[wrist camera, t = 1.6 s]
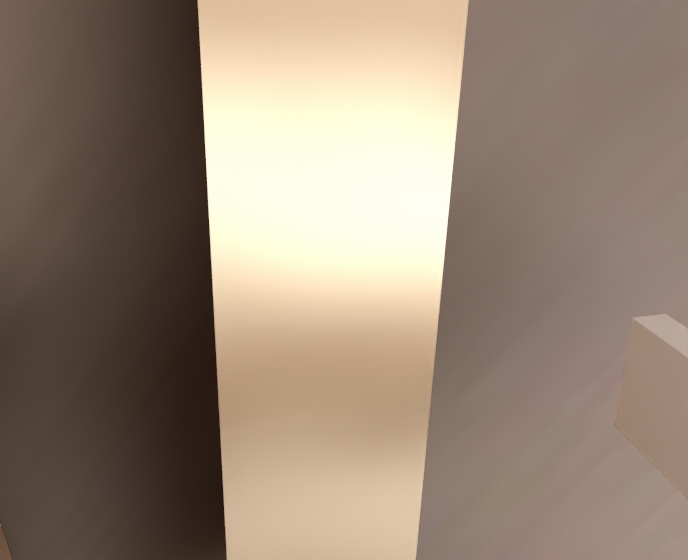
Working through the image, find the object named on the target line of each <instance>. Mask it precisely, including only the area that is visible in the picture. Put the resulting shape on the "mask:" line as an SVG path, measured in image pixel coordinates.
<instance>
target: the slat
mask: <svg viewBox="0 0 688 560" xmlns="http://www.w3.org/2000/svg"><path fill="white" fill-rule="evenodd" d="M467 11H468V0H198V16H199V35H200V54H201V73H202V92H203V111H204V131H205V150H206V169H207V188H208V207H209V226H210V245H211V264H212V283H213V303H214V322H215V341H216V360H217V379H218V398H219V417H220V436H221V455H222V475H223V494H224V513H225V532H226V551H227V560H416V550H417V539H418V529H419V518H420V507H421V497H422V486H423V476H424V465H425V455H426V444H427V434H428V423H429V412H430V402H431V391H432V381H433V370H434V360H435V349H436V338H437V328H438V317H439V307H440V296H441V286H442V275H443V264H444V254H445V243H446V233H447V222H448V212H449V201H450V190H451V180H452V169H453V159H454V148H455V138H456V127H457V117H458V106H459V95H460V85H461V74H462V64H463V53H464V43H465V32H466V21H467Z"/></svg>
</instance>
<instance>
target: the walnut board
mask: <svg viewBox="0 0 688 560" xmlns="http://www.w3.org/2000/svg"><path fill="white" fill-rule="evenodd" d="M0 524H1V523H0ZM0 560H12V557H11V554H10V551H9V548H8V545H7V542H6V539H5V535H4V532H3V529H2V526H1V525H0Z"/></svg>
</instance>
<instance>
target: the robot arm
mask: <svg viewBox="0 0 688 560" xmlns="http://www.w3.org/2000/svg"><path fill="white" fill-rule="evenodd" d="M615 426H616V427H617V428H618V429H619V430H620V431H621V432H622V433H623V434H624V435H625V436H626V437H627V438H628V439H629V440H630V441H631V443H632V444H633V445H634V446H635V447H636V448H637V449H638V450H639V451H640V452H641V453H642V454H643V455H644V456H645V457H646V458H647V459H648V460H649V461H650V462H651V463H652V464H653V465H654V466H655V467H656V468H657V469H658V470H659V471H660V472H661V473H662V474H663V475H664V476H665V477H666V478H667V479H668V480H669V481H670V482H671V483H672V484H673V485H674V486H675V487H676V488H677V489H678V490H679V491H680V492H681V493H682V494H683V495H684V496H685V497H686V498H687V499H688V328H686V327H685V326H683V325H682V324H680V323H679V322H677V321H675V320H674V319H672V318H671V317H669V316H668V315H666V314H659V315H652V316H644V317H636V318H633V319H632V325H631V331H630V337H629V343H628V350H627V356H626V362H625V368H624V374H623V380H622V386H621V392H620V398H619V404H618V410H617V416H616V422H615ZM0 525H1V524H0Z"/></svg>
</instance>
